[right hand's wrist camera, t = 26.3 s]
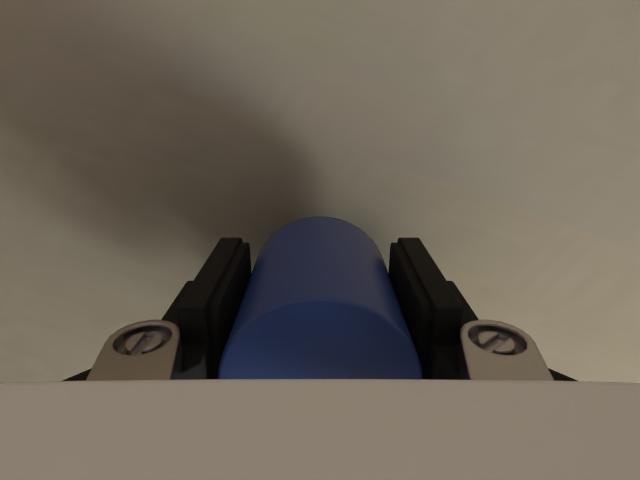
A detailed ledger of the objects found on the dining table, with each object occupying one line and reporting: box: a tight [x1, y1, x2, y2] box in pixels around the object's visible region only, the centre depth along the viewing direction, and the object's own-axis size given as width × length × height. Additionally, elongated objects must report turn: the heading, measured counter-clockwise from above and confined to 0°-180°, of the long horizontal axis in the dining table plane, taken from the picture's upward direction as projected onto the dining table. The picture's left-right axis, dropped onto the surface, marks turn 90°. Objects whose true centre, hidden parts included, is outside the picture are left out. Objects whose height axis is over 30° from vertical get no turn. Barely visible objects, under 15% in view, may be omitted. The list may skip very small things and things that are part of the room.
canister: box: [217, 217, 422, 380], centre depth 10 cm, size 4×4×5 cm
